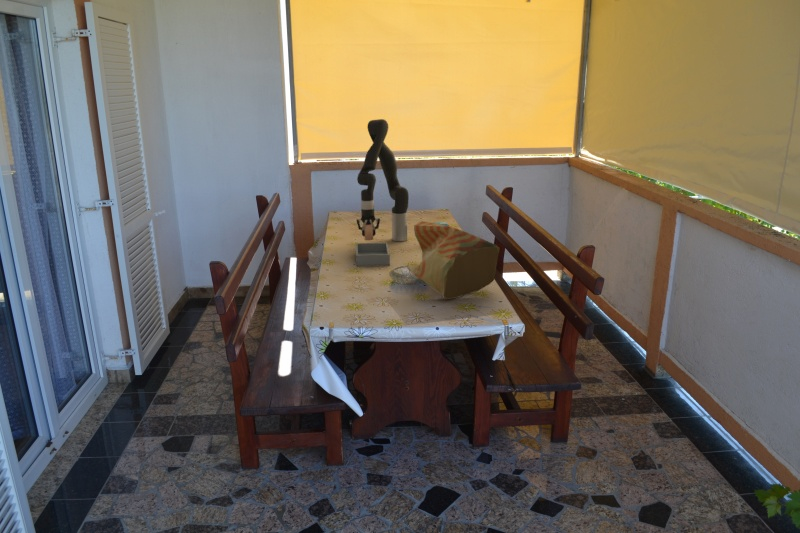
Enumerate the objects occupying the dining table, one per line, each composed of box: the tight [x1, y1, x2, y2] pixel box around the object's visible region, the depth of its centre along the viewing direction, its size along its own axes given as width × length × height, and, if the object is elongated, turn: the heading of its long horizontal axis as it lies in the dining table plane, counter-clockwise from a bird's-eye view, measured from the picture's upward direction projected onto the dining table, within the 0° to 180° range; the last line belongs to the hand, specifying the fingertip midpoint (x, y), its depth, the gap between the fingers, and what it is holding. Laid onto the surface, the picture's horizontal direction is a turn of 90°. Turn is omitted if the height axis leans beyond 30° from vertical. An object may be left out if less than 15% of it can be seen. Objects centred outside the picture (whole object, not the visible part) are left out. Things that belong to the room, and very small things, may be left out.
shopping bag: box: [405, 220, 501, 300], centre depth 304 cm, size 36×32×40 cm
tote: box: [355, 242, 391, 267], centre depth 354 cm, size 18×24×6 cm
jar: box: [364, 223, 374, 241], centre depth 373 cm, size 5×5×9 cm
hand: (368, 235), depth 373 cm, fingers closed on jar, 5 cm apart
